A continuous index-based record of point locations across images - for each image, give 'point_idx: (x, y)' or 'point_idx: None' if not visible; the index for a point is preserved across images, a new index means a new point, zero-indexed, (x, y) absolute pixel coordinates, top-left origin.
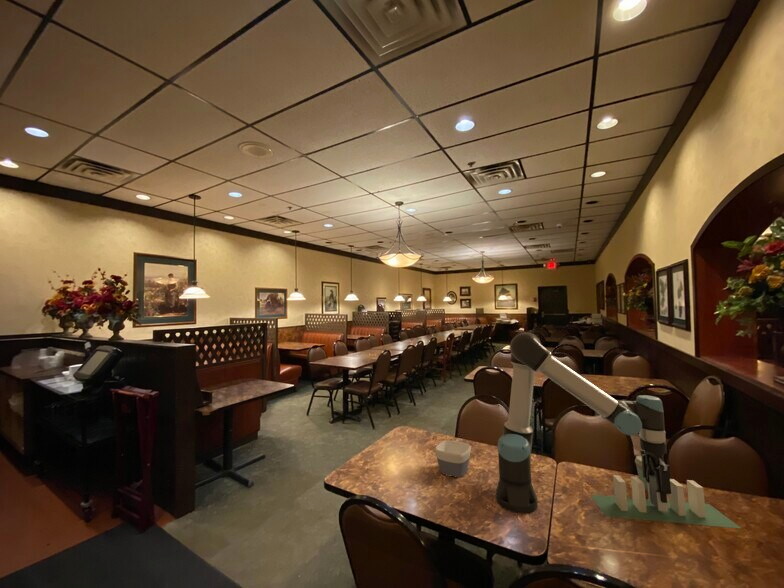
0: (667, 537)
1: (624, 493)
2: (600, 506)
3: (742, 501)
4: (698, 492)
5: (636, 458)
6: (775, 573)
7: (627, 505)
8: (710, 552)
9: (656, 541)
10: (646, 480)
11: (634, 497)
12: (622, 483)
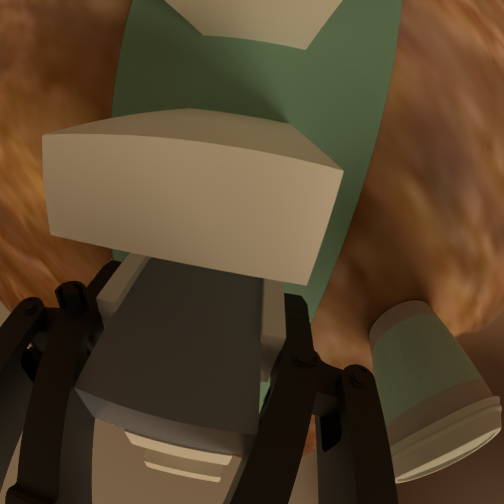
0: (27, 132)
1: None
2: None
3: None
4: None
5: (496, 426)
6: (2, 302)
7: (273, 73)
8: (3, 226)
9: (11, 78)
10: (299, 352)
11: (256, 121)
12: None
